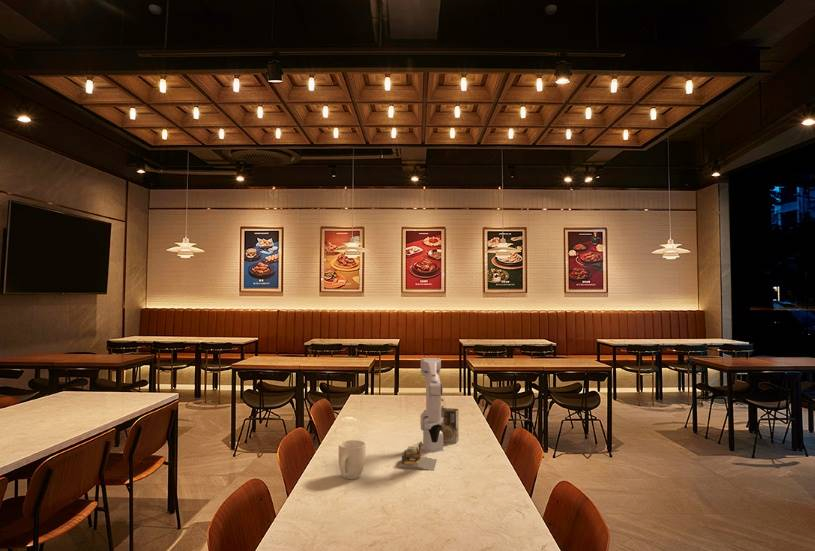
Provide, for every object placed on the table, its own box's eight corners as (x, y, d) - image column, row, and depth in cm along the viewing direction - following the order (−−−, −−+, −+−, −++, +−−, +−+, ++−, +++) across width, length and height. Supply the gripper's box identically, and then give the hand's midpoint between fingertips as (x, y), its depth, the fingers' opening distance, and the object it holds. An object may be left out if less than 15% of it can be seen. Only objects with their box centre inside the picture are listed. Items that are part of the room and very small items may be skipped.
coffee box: (458, 440, 233) (459, 408, 234) (456, 443, 227) (456, 411, 228) (442, 438, 236) (442, 407, 237) (438, 441, 230) (439, 409, 231)
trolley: (421, 456, 200) (421, 441, 200) (420, 461, 195) (420, 445, 195) (407, 455, 201) (407, 440, 201) (405, 460, 196) (405, 444, 196)
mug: (354, 487, 172) (355, 452, 173) (328, 483, 175) (329, 449, 176) (369, 473, 186) (369, 441, 187) (345, 470, 189) (345, 438, 190)
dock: (436, 459, 203) (436, 449, 203) (433, 471, 189) (434, 460, 190) (404, 457, 205) (404, 447, 206) (399, 468, 192) (399, 458, 192)
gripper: (433, 406, 206) (433, 436, 205) (419, 413, 193) (419, 445, 192) (447, 408, 203) (447, 438, 202) (434, 415, 190) (433, 447, 189)
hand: (434, 442), depth 197 cm, fingers closed
